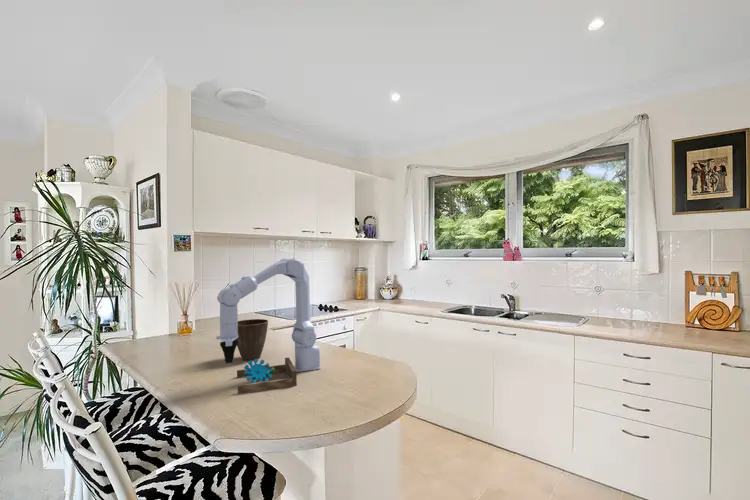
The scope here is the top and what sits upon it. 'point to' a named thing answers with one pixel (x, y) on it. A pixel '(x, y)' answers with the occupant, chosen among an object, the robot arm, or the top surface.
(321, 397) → the top surface
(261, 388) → the wooden u-shaped frame
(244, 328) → the plant pot
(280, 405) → the top surface
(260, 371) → the gear
